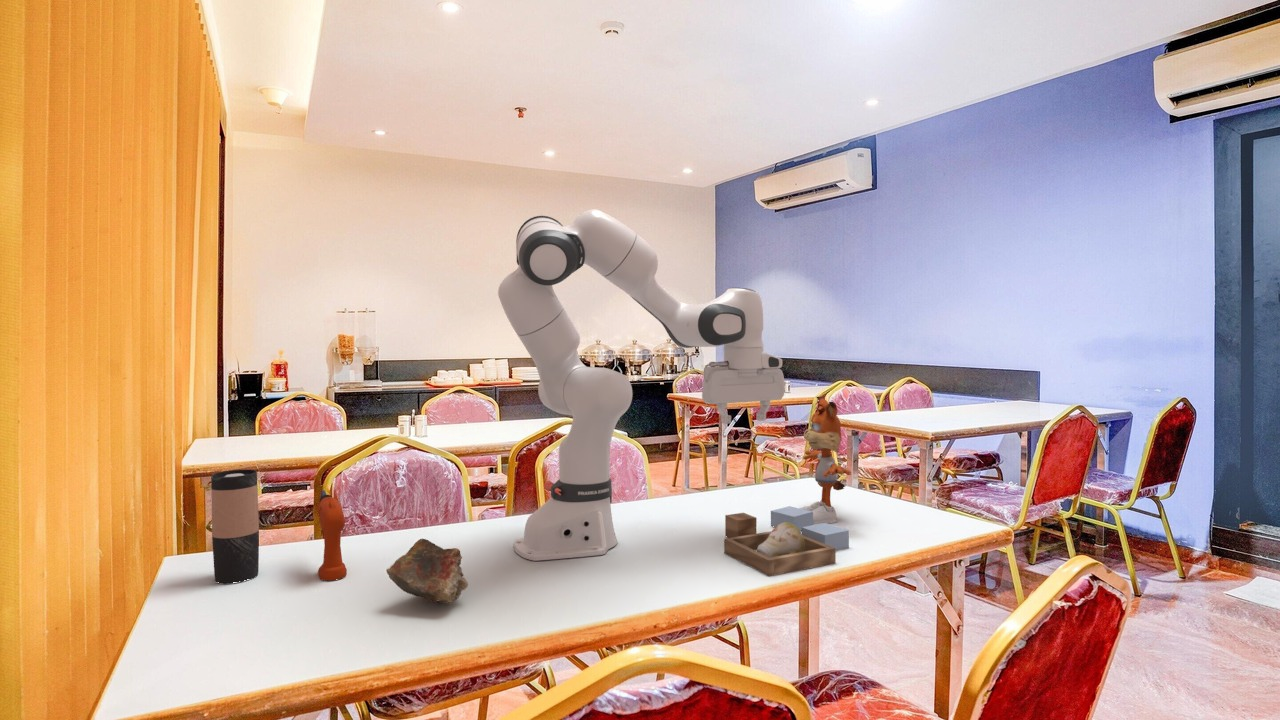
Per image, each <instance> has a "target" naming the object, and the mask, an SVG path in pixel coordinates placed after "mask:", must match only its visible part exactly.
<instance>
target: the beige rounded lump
mask: <svg viewBox="0 0 1280 720" xmlns="http://www.w3.org/2000/svg"><path fill="white" fill-rule="evenodd" d="M771 531H772V532H771V533H770V535H769V537H768V538H767V540H766V541H765V542H763V543H762V544H760V545H759V546H758V548H757V550H756V551H757V552H759V553H761V554H763V555H765V556H768V557H770V558H771V557H777V556H782V555H788V554H793V553H799V552H803V551H804V548H805V541H804V538H803V535H802V531H799V530H798V529H797V527H796V526H794V525H793V524H791V523H788V522H784V523H781V524H779V525H777V526H776V527H773V529H772V530H771Z"/></svg>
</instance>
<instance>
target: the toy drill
mask: <svg viewBox="0 0 1280 720" xmlns="http://www.w3.org/2000/svg"><path fill="white" fill-rule="evenodd" d="M320 494H321V497H319V498H320V499H319V504H318V505H317V512H318V517H319V523H320V528H321V529H322V531H323V542H324V544H323V545H324V549H323V561H322V564H321V565H320V566H319V567H318V570H317V575H318V577H319V579H320V578H321V579H320V580H322V579H323V580H322V581H324V580H335V581H337V580H336V579H339V580H341V579H340V578H342V579H344V578H346V577H347V574H348V573H347V572H348V569H347V567H346V565H345V563H344V562H343V555H342V548H341V539H342V538H341V536H342V531H343V529H345V527H346V521H345V515H344V510H343V507H342V505H341V503H340V501H339V500H338V499H336V498H335V497H333V496H332V495H330V494H327V492H326V490H323V489H322V490H321V491H320ZM343 577H344V578H343Z"/></svg>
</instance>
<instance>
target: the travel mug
mask: <svg viewBox="0 0 1280 720" xmlns="http://www.w3.org/2000/svg"><path fill="white" fill-rule="evenodd" d="M210 478H211V479H210V480H211V481H210V482H211V483H210V485H211V487H210V488H211V494H210V495H211V539H212V540H211V541H212V556H213V571H214V573H213V574H214V582H215V581H216V582H219V583H233V582H239V581H244V580H247V579H251V578H253V579H255V578H256V577H258V575H259V569H260V568H259V566H260V565H259V561H260V560H259V556H260V555H259V553H260V551H259V550H260V549H259V548H260V547H259V545H260V522H259V521H260V520H259V518H260V517H259V492H258V491H259V490H258V489H259V488H258V471H257V470H255V469H247V468H245V469H233V470H232V469H230V470H224V471H220V472H219V471H218V472H215V473H213V474H212V475H211V476H210ZM255 576H256V577H255ZM254 577H255V578H254ZM251 580H252V579H251ZM216 582H215V583H216ZM219 583H218V584H219Z"/></svg>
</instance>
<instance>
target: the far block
mask: <svg viewBox="0 0 1280 720" xmlns="http://www.w3.org/2000/svg"><path fill="white" fill-rule="evenodd" d="M799 508H800V507H796V506H795V507H794V506H790V505H789V506H785V507H781V508H777V509H773V510H770V527H771V526H774V527H773V528H775V527H776V526H777V525H779V524H781V523H784V522H788V523H791V524H793V525H794V526H796V527H797V529H798V530H799V531H800V532H802V531H801V530H802V527H805V526H811V525H814V524H813V512H812V511H808V510H804V509H799Z"/></svg>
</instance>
